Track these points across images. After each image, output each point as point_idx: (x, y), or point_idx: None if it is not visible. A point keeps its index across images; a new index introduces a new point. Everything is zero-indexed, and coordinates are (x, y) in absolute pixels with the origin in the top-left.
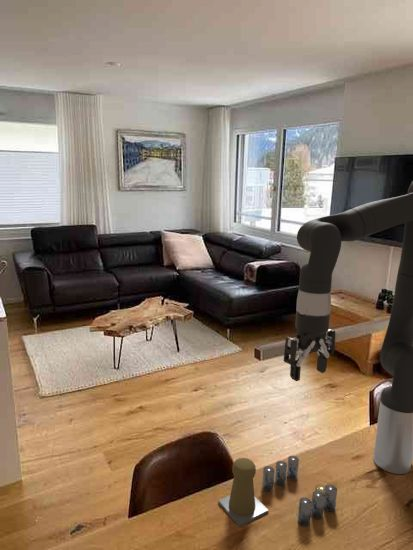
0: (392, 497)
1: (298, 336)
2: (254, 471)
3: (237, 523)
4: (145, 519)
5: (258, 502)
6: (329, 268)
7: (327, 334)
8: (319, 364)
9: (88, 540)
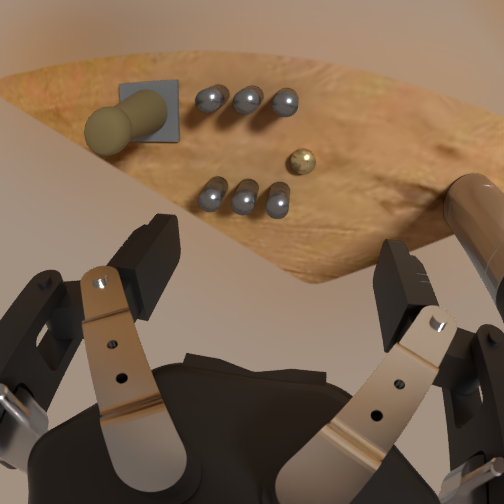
0: None
1: (46, 488)
2: (116, 153)
3: None
4: (33, 74)
5: (173, 120)
6: None
7: None
8: (389, 280)
9: None
